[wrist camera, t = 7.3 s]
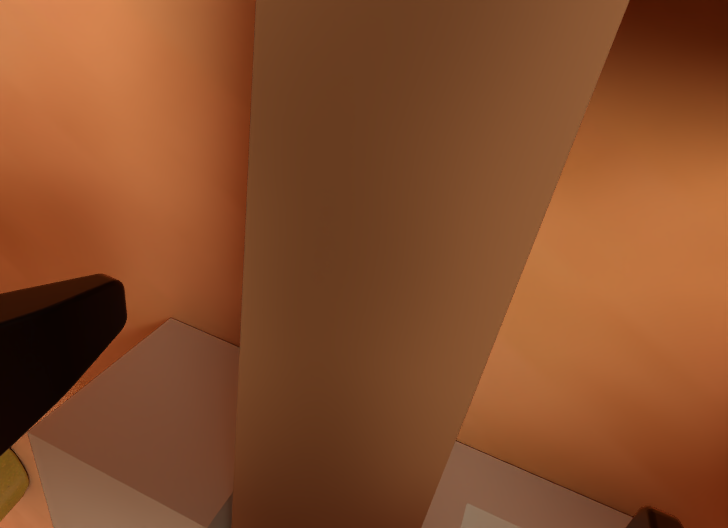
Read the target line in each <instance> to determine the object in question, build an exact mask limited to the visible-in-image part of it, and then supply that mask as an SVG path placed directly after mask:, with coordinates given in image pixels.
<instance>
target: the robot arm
mask: <svg viewBox="0 0 728 528" xmlns="http://www.w3.org/2000/svg"><path fill="white" fill-rule="evenodd" d="M126 320H127V310H126V300H125V290H124V286H123V284H122V282H120V281H119V280H117V279H114V278H112V277H110V276H107V275H105V274H95V275H90V276H85V277H80V278H75V279H70V280H66V281H61V282H56V283H51V284H46V285H41V286H36V287H31V288H27V289H22V290H17V291H12V292H7V293H2V294H0V457H1V456H2V455H3V454H4V453H5V452H6V451H7V450H8V449H9V448H10V447H11V446H12V445H13V444H14V443H15V442H16V441H17V440H18V439H19V438H20V437H21V436H22V435H24V434H25V433H26V432H27V431H28V430H29V429H30V428H31V427H32V426H33V425H34V424H35V423H36V422H37V421H38V420H39V419H40V418H41V417H42V416H43V415H44V414H46V413H47V412H48V411H49V410H50V409H51V408H52V407H53V406H54V405H55V404H56V403H57V402H58V401H59V400H60V399H61V398H62V397H63V396H64V395H65V394H66V393H67V392H68V391H69V390H70V389H71V387H72V386H73V385H74V384H75V383H76V382H77V381H78V380H79V379H80V377H81V376H82V375H83V374H84V373H85V372H86V370H87V369H88V368H89V367H90V366H91V365H92V364H93V362H94V361H95V360H96V359H97V358H98V357H99V356H100V354H101V353H102V352H103V351H104V350H105V349H106V347H107V346H108V345H109V344H110V343H111V342H112V341H113V339H114V338H115V337H116V336H117V335H118V334H119V332H120V331H121V330H122V329H123V327H124V325H125V323H126ZM626 528H684V527H683V525H682V524H681V522H680V521H679V520H678V519H677V518H676V517H675V516H673V515H671V514H668V513H666V512H664V511H661V510H659V509H657V508H654V507H652V506H643V507H642V508H641V509H640V510H639V511H638V512H637V513H636V515H635V516H634V517H633V519H632V520H631V521H630V522H629V524H628V525H627V526H626Z"/></svg>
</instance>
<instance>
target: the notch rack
mask: <svg viewBox="0 0 728 528" xmlns="http://www.w3.org/2000/svg"><path fill="white" fill-rule="evenodd" d="M239 352H240V347H237V346H235V345H233V344H230V343H228V342H226V341H223V340H221V339H219V338H216V337H214V336H212V335H209V334H207V333H205V332H203V331H200V330H198V329H196V328H193V327H191V326H189V325H186V324H184V323H182V322H179V321H177V320H175V319H172V318H170V319H169V320H167V321H166V322H165V323H164V324H162V325H161V326H160V327H158V328H157V329H156V330H155V331H153V332H152V333H151V334H150V335H148V336H147V337H146V338H145V339H143V340H142V341H141V342H140V343H138V344H137V345H136V346H135V347H133V348H132V349H131V350H130V351H128V352H127V353H126V354H124V355H123V356H122V357H121V358H119V359H118V360H117V361H116V362H114V363H113V364H112V365H111V366H109V367H108V368H107V369H106V370H104V371H103V372H102V373H101V374H99V375H98V376H97V377H96V378H94V379H93V380H92V381H90V382H89V383H88V384H87V385H85V386H84V387H83V388H82V389H80V390H79V391H78V392H77V393H75V394H74V395H73V396H72V397H70V398H69V399H68V400H67V401H65V402H64V403H63V404H62V405H60V406H59V407H58V408H56V409H55V410H54V411H53V412H51V413H50V414H49V415H48V416H46V417H45V418H44V419H43V420H41V421H40V422H39V423H38V424H36V425H35V426H34V427H33V428H31V429H30V430H29V431H27V433H28V437H29V440H30V444H31V447H32V451H33V455H34V458H35V462H36V466H37V469H38V473H39V476H40V480H41V484H42V487H43V491H44V494H45V498H46V502H47V505H48V509H49V512H50V516H51V520H52V523H53V527H54V528H231V524H232V502H233V481H234V460H235V438H236V417H237V395H238V374H239ZM632 519H633V517H631V516H628V515H626V514H624V513H621V512H619V511H617V510H614V509H612V508H610V507H607V506H605V505H603V504H601V503H598V502H596V501H594V500H591V499H589V498H587V497H584V496H582V495H580V494H577V493H575V492H573V491H570V490H568V489H566V488H563V487H561V486H559V485H557V484H554V483H552V482H550V481H547V480H545V479H543V478H540V477H538V476H536V475H533V474H531V473H529V472H526V471H524V470H522V469H520V468H517V467H515V466H513V465H510V464H508V463H506V462H503V461H501V460H499V459H496V458H494V457H492V456H489V455H487V454H485V453H483V452H480V451H478V450H476V449H473V448H471V447H469V446H466V445H464V444H462V443H459V442H457V441H455V444H454V446H453V449H452V451H451V454H450V456H449V459H448V461H447V464H446V467H445V469H444V472H443V474H442V477H441V479H440V482H439V484H438V487H437V489H436V492H435V494H434V497H433V499H432V502H431V505H430V507H429V510H428V512H427V515H426V517H425V520H424V522H423V525H422V527H421V528H626V526H627V525H628V524H629V522H630V521H631V520H632Z"/></svg>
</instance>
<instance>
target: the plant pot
mask: <svg viewBox="0 0 728 528" xmlns="http://www.w3.org/2000/svg"><path fill="white" fill-rule="evenodd" d="M28 485H29V480H28V476H27V472H26V471H25V469H24V467H23V466H22V464H21V463H20V461H19V459H18V457H17V455H16V454H15V453H14V452H13V451H12V450H10V449H8V450H7V451H6V452H5V453H4V454H3V455H2V456H1V457H0V521H1V520H2V519H3V518H4V517H5V516H6V515H7V514H8V512H9V511H10V510H11V509H12V508H13V507H14V506H15V505H16V503H17V502H18V501H19V500H20V499H21V498H22V497H23V495H24V493H25V491H26V489H27V487H28Z"/></svg>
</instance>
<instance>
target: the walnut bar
mask: <svg viewBox="0 0 728 528" xmlns="http://www.w3.org/2000/svg"><path fill="white" fill-rule="evenodd" d="M628 3H629V0H256V10H255V31H254V53H253V74H252V95H251V117H250V138H249V160H248V181H247V202H246V224H245V245H244V267H243V288H242V310H241V331H240V352H239V374H238V395H237V417H236V438H235V460H234V481H233V502H232V524H231V528H421V527H422V525H423V522H424V520H425V517H426V515H427V512H428V510H429V507H430V505H431V502H432V499H433V497H434V494H435V492H436V489H437V487H438V484H439V482H440V479H441V477H442V474H443V472H444V469H445V467H446V464H447V461H448V459H449V456H450V454H451V451H452V449H453V446H454V444H455V441H456V439H457V436H458V434H459V431H460V429H461V426H462V423H463V421H464V418H465V416H466V413H467V411H468V408H469V406H470V403H471V401H472V398H473V396H474V393H475V391H476V388H477V385H478V383H479V380H480V378H481V375H482V373H483V370H484V368H485V365H486V363H487V360H488V358H489V355H490V353H491V350H492V347H493V345H494V342H495V340H496V337H497V335H498V332H499V330H500V327H501V325H502V322H503V320H504V317H505V315H506V312H507V309H508V307H509V304H510V302H511V299H512V297H513V294H514V292H515V289H516V287H517V284H518V282H519V279H520V277H521V274H522V271H523V269H524V266H525V264H526V261H527V259H528V256H529V254H530V251H531V249H532V246H533V244H534V241H535V239H536V236H537V234H538V231H539V228H540V226H541V223H542V221H543V218H544V216H545V213H546V211H547V208H548V206H549V203H550V201H551V198H552V196H553V193H554V190H555V188H556V185H557V183H558V180H559V178H560V175H561V173H562V170H563V168H564V165H565V163H566V160H567V158H568V155H569V152H570V150H571V147H572V145H573V142H574V140H575V137H576V135H577V132H578V130H579V127H580V125H581V122H582V120H583V117H584V114H585V112H586V109H587V107H588V104H589V102H590V99H591V97H592V94H593V92H594V89H595V87H596V84H597V82H598V79H599V76H600V74H601V71H602V69H603V66H604V64H605V61H606V59H607V56H608V54H609V51H610V49H611V46H612V44H613V41H614V38H615V36H616V33H617V31H618V28H619V26H620V23H621V21H622V18H623V16H624V13H625V11H626V8H627V6H628Z"/></svg>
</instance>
